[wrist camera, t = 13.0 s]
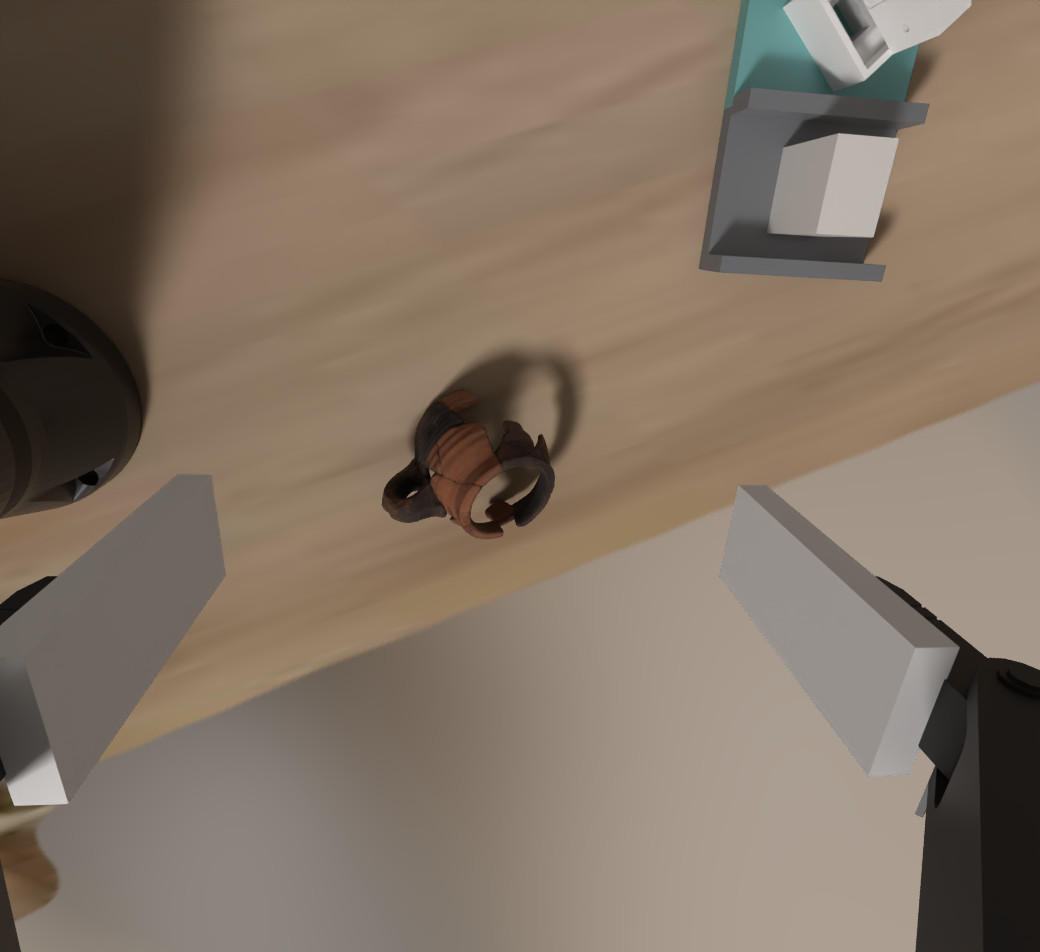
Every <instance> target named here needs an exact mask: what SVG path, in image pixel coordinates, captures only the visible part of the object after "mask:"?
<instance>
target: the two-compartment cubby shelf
mask: <svg viewBox="0 0 1040 952" xmlns="http://www.w3.org/2000/svg"><path fill="white" fill-rule="evenodd" d="M789 1H790V0H742V2H741V8H740V15H739V21H738V27H737V34H736V40H735V46H734V52H733V59H732V65H731V71H730V77H729V84H728V90H727V96H726V102H725V109H724V115H723V121H722V127H721V134H720V140H719V146H718V153H717V159H716V165H715V171H714V178H713V184H712V190H711V196H710V203H709V209H708V215H707V221H706V228H705V234H704V240H703V246H702V253H701V259H700V265H699V269H702V270H708V271H714V272H722V273H739V274H757V275H774V276H792V277H809V278H826V279H844V280H861V281H879V282H882V279H883V275H884V271H885V268H886V265H874V264H863V262H864V259H865V255H866V251H867V247H868V243H869V239H870V237H815V236H800V235H784V234H769V233H767V229H768V224H769V219H770V213H771V208H772V203H773V198H774V193H775V188H776V183H777V178H778V173H779V167H780V162H781V157H782V152H783V148H784V147H788V146H792V145H796V144H800V143H803V142H807V141H811V140H815V139H819V138H823V137H826V136H830V135H834V134H838V133H840V134H852V135H864V136H876V137H888V138H895V137H896V133H897V130H898V129H903V128H907V127H911V126H915V125H920V124H924V123H925V119H926V115H927V112H928V108H929V104H924V103H913V102H905V98H906V94H907V90H908V86H909V82H910V78H911V75H912V71H913V67H914V63H915V59H916V55H917V51H918V47H919V44H917V45H914V46H912V47H909V48H907V49H905V50H902V51H900V52H897V53H895V54H892V55H891V56H890V57H889V58H888V59H887V60H886V61H885V62H884V63H883V64H882V65H881V66H880V67H879V68H878V69H877V70H876V71H875V72H873V73H872V74H871V75H870V76H869V77H868V78H867V79H866V80H865V81H862V82H860V83H857V84H854V85H852V86H849V87H846V88H844V89H841V90H838V91H836V92H833V91H832V89H831V88H830V86H829V84H828V83H827V81H826V79H825V78H824V76H823V74H822V73H821V71H820V69H819V68H818V66H817V64H816V63H815V61H814V59H813V58H812V56H811V54H810V53H809V51H808V49H807V48H806V46H805V44H804V43H803V41H802V39H801V38H800V36H799V34H798V33H797V31H796V29H795V28H794V26H793V24H792V23H791V21H790V19H789V18H788V16H787V14H786V13H785V11H784V9H783V7H784V6H785V5H786V4H787V3H788V2H789ZM833 9H834V10H835V12H836V14H837V16H838V17H839V19H840V21H841V23H842V25H843V26H844V28H845V30H846V32H847V33H848V35H849V37H851V36H852V35H853V33H852V31H851V29H850V28H849V26H848V24H847V22H846V21H845V19H844V17H843V15H842V13H841V12H840V10H839V8H838V6H837V5H836V4H835V5H834V6H833Z"/></svg>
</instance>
